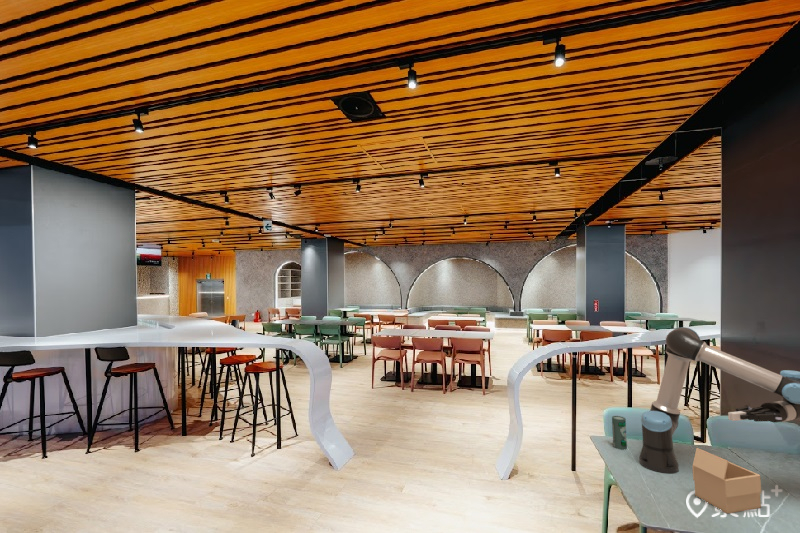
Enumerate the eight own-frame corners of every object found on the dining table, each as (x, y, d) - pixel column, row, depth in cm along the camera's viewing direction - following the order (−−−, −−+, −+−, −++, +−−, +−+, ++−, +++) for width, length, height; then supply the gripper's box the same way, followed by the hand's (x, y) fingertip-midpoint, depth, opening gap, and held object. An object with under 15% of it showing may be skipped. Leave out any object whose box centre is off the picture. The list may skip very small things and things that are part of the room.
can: (626, 450, 193) (625, 420, 194) (613, 448, 196) (611, 418, 197) (626, 446, 198) (625, 417, 199) (613, 443, 201) (612, 415, 202)
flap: (724, 479, 140) (723, 479, 140) (693, 465, 151) (692, 465, 151) (728, 461, 141) (727, 460, 140) (697, 447, 152) (696, 447, 152)
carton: (728, 514, 138) (726, 480, 139) (694, 495, 151) (692, 464, 152) (763, 508, 142) (761, 475, 142) (727, 490, 154) (725, 460, 155)
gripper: (798, 427, 147) (750, 432, 142) (759, 415, 160) (714, 420, 155) (796, 407, 148) (748, 412, 143) (757, 397, 161) (713, 402, 156)
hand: (730, 416), depth 149 cm, fingers closed
